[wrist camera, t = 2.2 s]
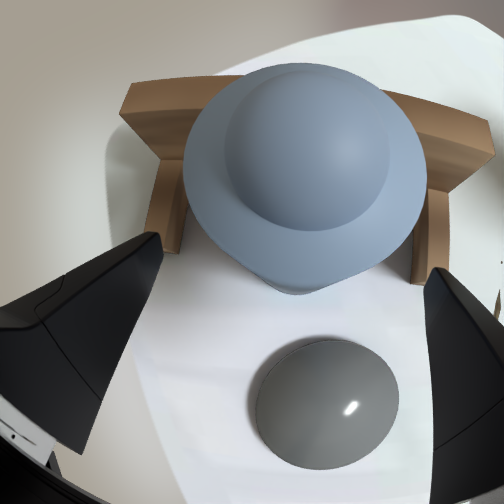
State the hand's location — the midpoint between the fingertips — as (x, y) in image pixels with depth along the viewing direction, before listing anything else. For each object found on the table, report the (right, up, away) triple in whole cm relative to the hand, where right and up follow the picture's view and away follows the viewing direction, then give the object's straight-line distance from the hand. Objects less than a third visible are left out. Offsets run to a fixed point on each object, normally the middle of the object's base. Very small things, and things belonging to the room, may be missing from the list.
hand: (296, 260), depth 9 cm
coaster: (+3, -9, +7) cm, 12 cm away
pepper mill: (+1, 0, +9) cm, 9 cm away
